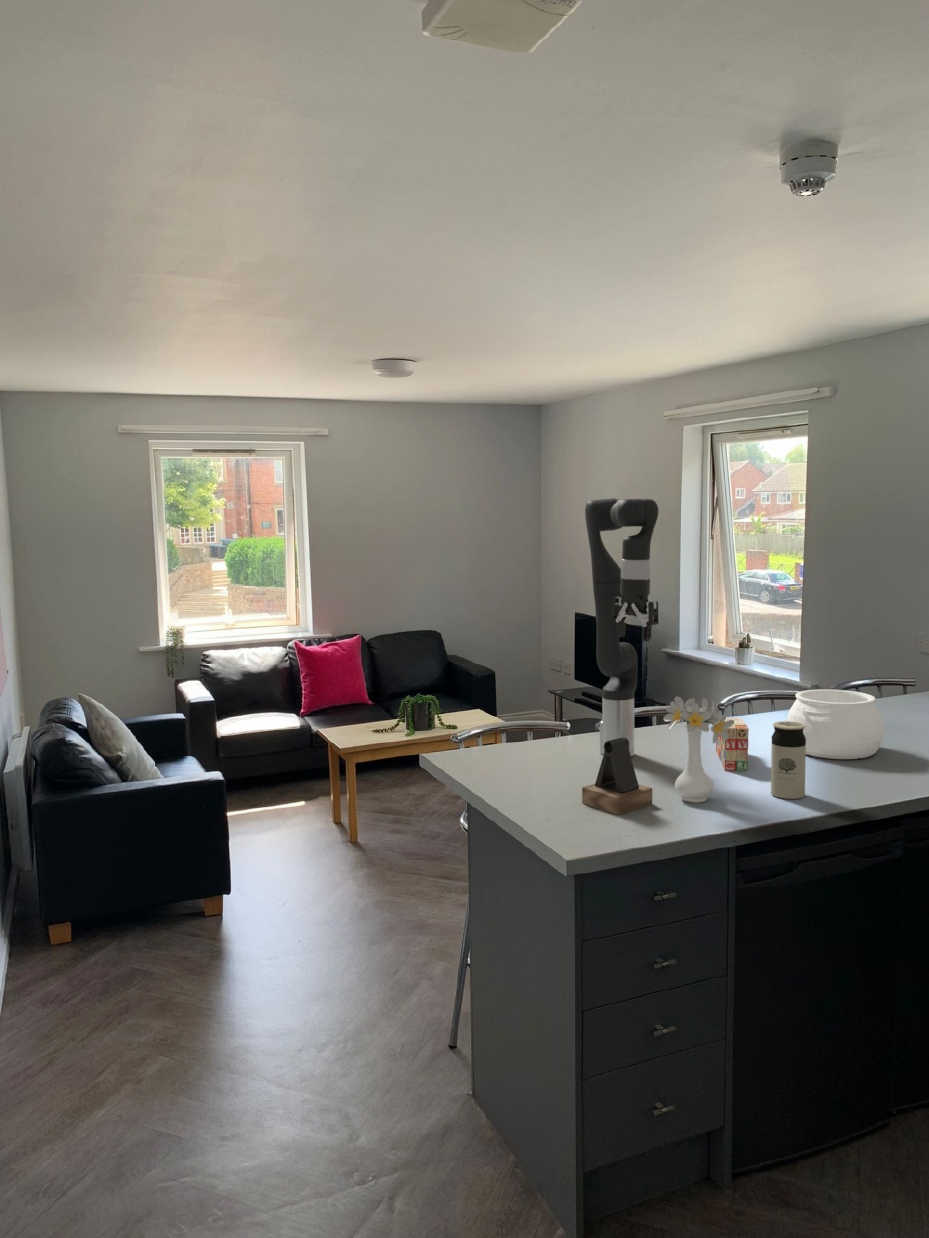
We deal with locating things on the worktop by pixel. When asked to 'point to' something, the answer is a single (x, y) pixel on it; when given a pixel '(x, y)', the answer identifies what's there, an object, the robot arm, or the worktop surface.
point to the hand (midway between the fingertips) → (633, 638)
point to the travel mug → (788, 760)
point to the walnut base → (617, 799)
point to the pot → (838, 723)
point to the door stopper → (617, 768)
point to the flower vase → (696, 745)
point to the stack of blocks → (734, 747)
